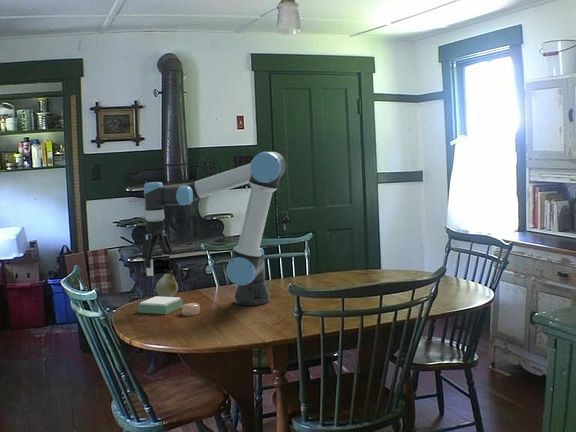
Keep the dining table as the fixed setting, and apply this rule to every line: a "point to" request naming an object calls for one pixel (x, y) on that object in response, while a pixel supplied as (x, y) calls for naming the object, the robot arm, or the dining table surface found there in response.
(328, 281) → the dining table surface
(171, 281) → the fruit
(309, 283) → the dining table surface
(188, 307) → the pinkish tan egg
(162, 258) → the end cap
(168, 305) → the stand
